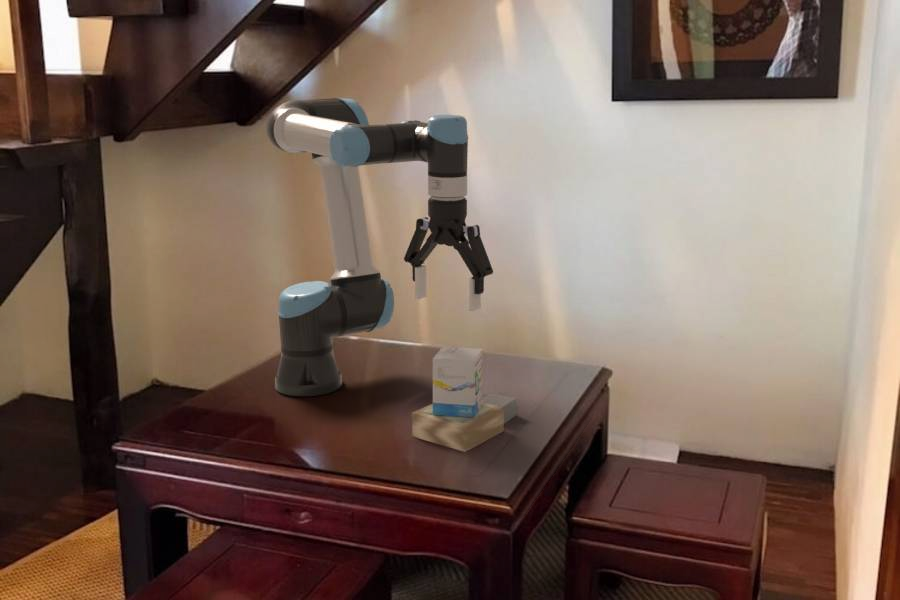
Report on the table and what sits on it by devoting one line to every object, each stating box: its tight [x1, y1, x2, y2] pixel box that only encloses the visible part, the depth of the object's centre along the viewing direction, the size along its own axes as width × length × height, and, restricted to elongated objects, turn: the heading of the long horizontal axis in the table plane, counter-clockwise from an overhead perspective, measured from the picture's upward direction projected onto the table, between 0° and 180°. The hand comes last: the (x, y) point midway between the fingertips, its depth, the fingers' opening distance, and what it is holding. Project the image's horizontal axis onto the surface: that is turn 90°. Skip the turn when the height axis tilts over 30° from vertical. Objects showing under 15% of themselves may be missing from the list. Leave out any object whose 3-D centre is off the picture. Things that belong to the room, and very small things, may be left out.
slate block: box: [482, 393, 517, 424], centre depth 207 cm, size 6×6×4 cm
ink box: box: [432, 346, 483, 418], centre depth 196 cm, size 8×8×12 cm
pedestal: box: [411, 402, 505, 453], centre depth 198 cm, size 13×13×5 cm
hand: (447, 303), depth 197 cm, fingers open, 13 cm apart
